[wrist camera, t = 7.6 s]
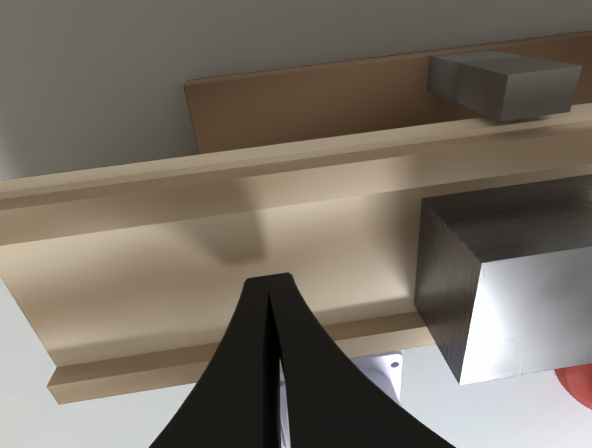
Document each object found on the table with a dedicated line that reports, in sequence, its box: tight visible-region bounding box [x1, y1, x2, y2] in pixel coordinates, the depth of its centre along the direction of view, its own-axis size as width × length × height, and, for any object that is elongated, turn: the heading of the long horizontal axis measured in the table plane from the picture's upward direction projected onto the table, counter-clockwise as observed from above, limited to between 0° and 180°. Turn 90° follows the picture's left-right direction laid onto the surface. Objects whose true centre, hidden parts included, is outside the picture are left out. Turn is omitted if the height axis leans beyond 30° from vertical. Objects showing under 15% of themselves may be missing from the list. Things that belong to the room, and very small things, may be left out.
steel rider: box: [414, 174, 592, 385], centre depth 12 cm, size 4×6×4 cm
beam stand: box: [184, 31, 592, 154], centre depth 15 cm, size 11×20×6 cm, turn 95°
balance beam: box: [0, 103, 592, 404], centre depth 13 cm, size 8×32×2 cm, turn 95°
